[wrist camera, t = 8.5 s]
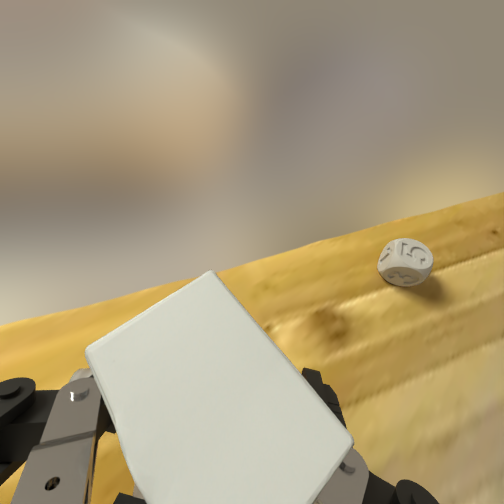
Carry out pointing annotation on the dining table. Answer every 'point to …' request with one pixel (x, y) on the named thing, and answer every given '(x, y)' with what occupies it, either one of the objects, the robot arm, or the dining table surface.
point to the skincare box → (214, 405)
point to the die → (405, 262)
